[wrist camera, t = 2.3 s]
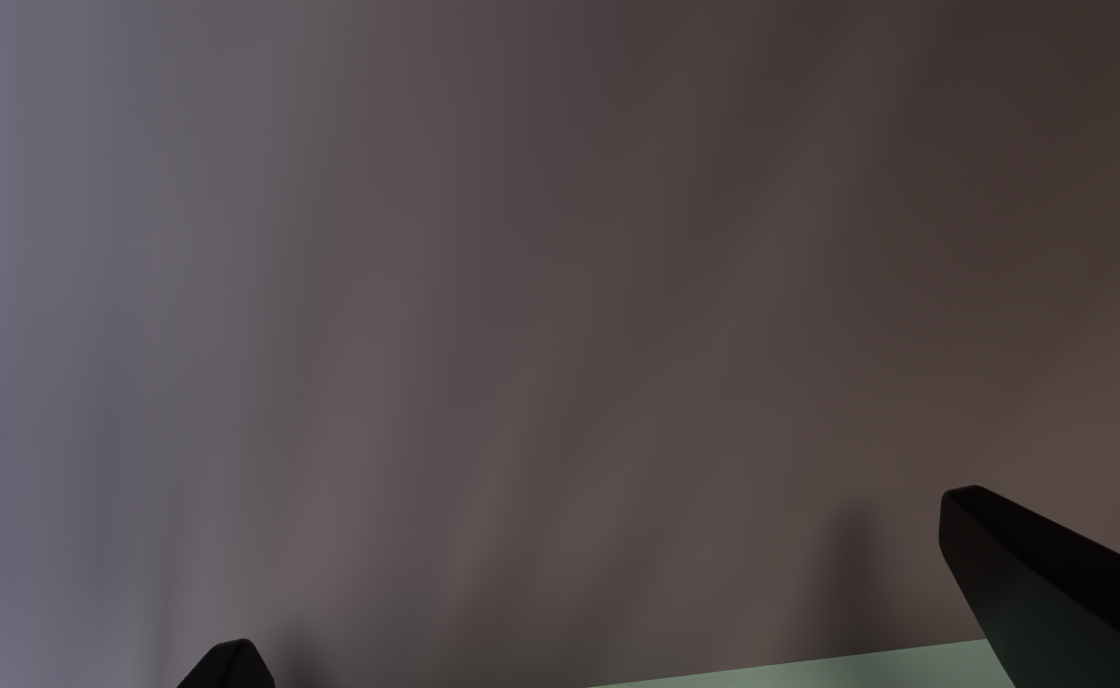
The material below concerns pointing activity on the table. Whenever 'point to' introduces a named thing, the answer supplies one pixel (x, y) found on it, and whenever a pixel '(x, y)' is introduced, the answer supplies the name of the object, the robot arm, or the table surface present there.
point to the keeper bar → (861, 671)
